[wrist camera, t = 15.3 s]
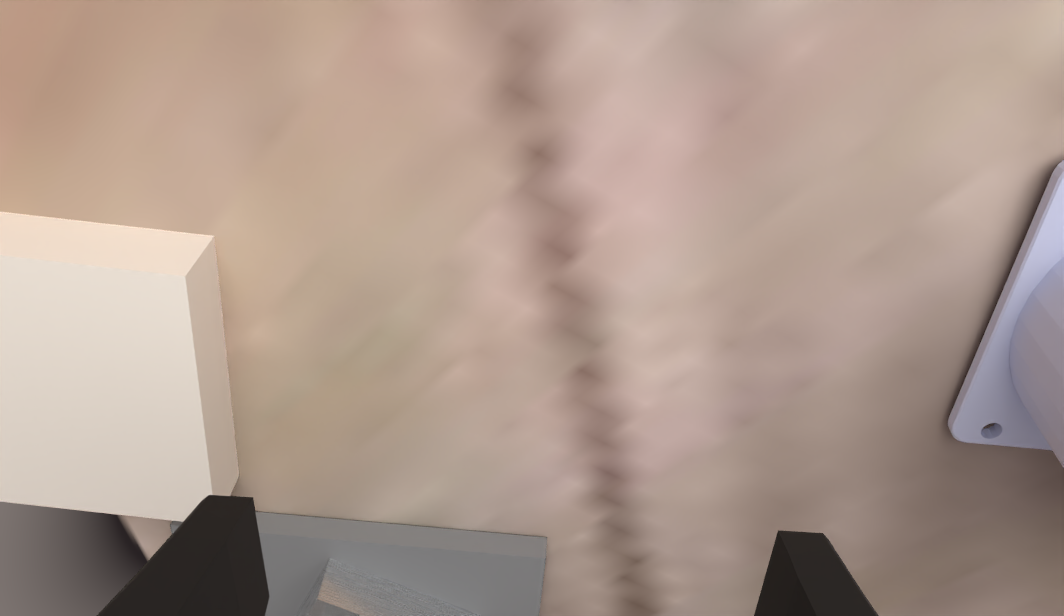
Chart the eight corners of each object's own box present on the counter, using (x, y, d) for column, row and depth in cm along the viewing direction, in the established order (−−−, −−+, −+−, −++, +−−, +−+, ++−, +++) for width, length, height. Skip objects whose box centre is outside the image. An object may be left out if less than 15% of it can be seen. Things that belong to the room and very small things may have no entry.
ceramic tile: (185, 276, 20) (-194, 233, 20) (216, 525, 25) (-96, 491, 25) (219, 228, 22) (-127, 188, 22) (243, 467, 27) (-47, 435, 27)
